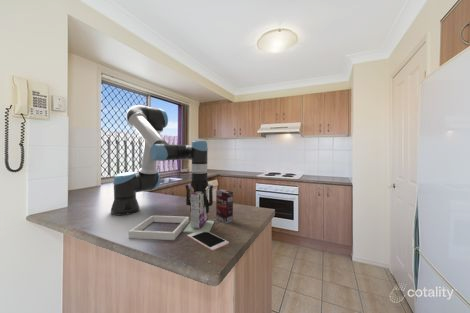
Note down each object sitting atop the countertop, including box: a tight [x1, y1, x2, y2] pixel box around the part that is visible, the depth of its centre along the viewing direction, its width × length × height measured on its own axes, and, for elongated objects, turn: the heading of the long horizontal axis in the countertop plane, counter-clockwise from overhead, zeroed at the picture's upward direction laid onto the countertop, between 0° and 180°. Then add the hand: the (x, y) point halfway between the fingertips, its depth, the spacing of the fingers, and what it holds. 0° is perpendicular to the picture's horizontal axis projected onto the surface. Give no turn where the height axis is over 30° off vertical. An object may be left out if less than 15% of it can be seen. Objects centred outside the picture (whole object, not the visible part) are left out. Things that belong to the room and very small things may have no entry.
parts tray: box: [128, 215, 190, 241], centre depth 94 cm, size 20×20×3 cm
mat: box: [182, 220, 215, 234], centre depth 97 cm, size 12×14×1 cm
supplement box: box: [215, 189, 234, 224], centre depth 106 cm, size 9×5×16 cm, turn 47°
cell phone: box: [187, 232, 230, 252], centre depth 84 cm, size 9×18×1 cm, turn 45°
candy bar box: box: [190, 188, 209, 228], centre depth 97 cm, size 11×5×16 cm, turn 169°
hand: (199, 219), depth 97 cm, fingers closed on candy bar box, 5 cm apart
